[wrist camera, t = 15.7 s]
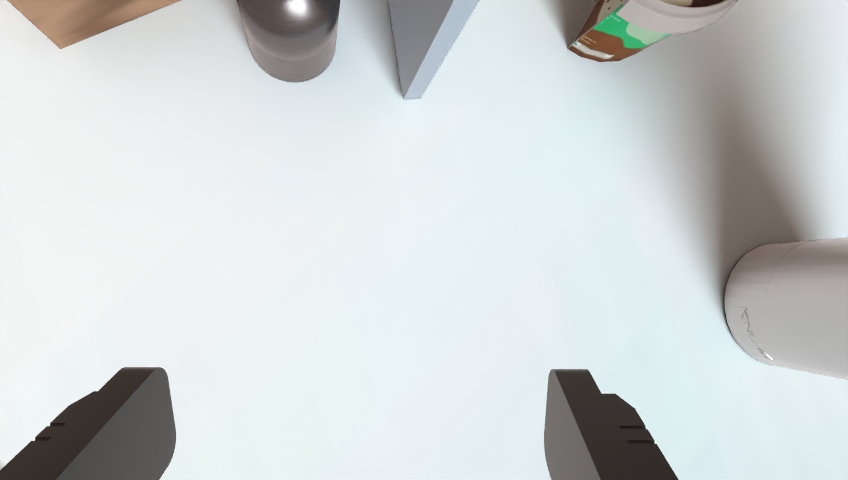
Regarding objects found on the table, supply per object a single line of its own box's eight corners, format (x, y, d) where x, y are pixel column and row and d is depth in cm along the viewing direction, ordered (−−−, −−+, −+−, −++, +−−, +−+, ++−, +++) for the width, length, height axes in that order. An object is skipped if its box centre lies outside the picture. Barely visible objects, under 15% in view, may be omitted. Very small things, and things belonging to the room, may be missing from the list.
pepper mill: (310, -14, 38) (309, -128, 27) (350, 61, 38) (365, -24, 27) (232, 19, 36) (200, -87, 26) (274, 96, 37) (258, 22, 26)
